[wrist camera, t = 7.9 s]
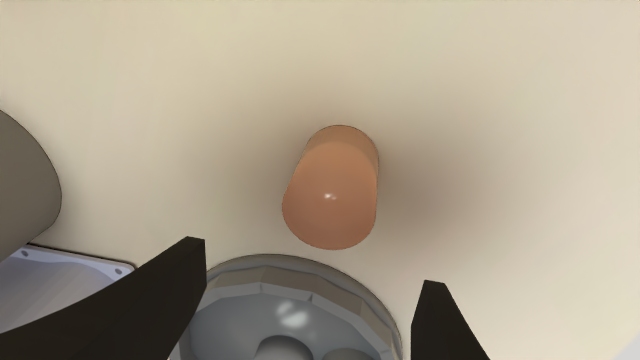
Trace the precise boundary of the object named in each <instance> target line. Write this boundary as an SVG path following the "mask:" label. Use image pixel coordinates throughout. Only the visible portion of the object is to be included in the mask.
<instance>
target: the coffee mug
mask: <svg viewBox="0 0 640 360" xmlns="http://www.w3.org/2000/svg"><path fill="white" fill-rule="evenodd" d="M60 206H61V190H60V185H59V181H58V178H57V174H56V172H55V170H54V168H53V166H52V164H51V162H50V160H49V158H48V157H47V155H46V154H45V152H44V151H43V149H42V148H41V146H40V145H39V144H38V143H37V141H36V140H35V139H34V138H33V137H32V136H31V135H30V134H29V133H28V132H27V131H26V130H25V129H24V128H23V127H22V126H21V125H20V124H18V123H17V122H16V121H15V120H13V119H12V118H11V117H9V116H8V115H7V114H5V113H4V112H2V111H1V110H0V263H1V262H2V261H4V260H5V259H6V258H8V257H9V256H10V255H12V254H13V253H15V252H16V251H17V250H19V249H20V248H21V247H23V246H24V245H25V244H27V243H28V242H29V241H31V240H32V239H34V238H35V237H36V236H38V235H39V234H40V233H42V232H43V231H44V230H46V229H47V228H48V227H50V226H51V225H52V224H53V223H54V221H55V219H56V218H57V216H58V214H59V211H60Z"/></svg>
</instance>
